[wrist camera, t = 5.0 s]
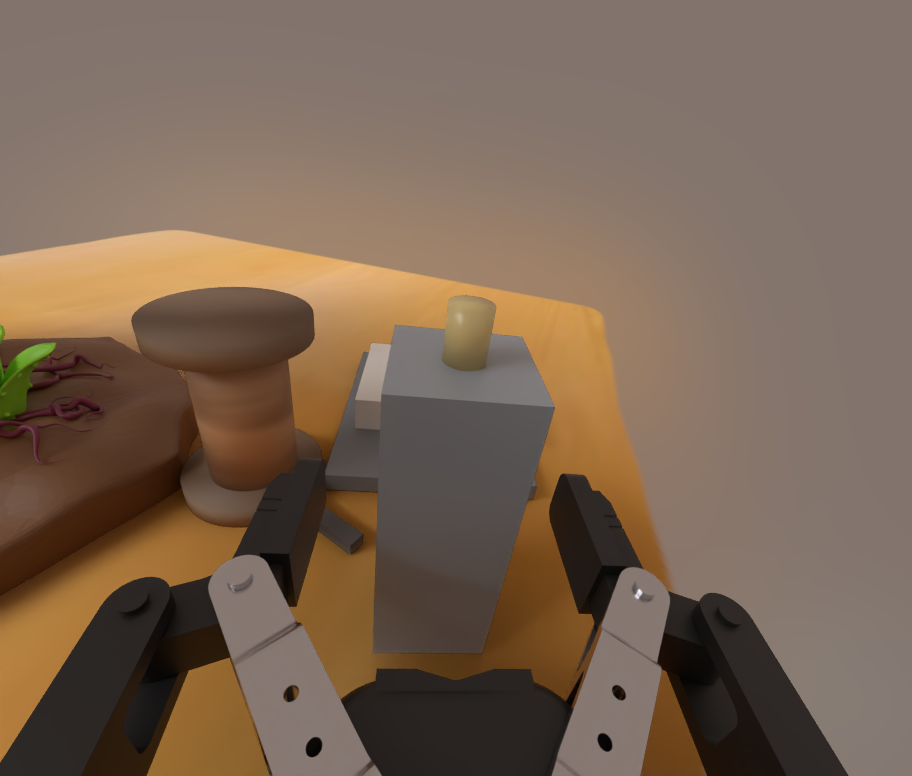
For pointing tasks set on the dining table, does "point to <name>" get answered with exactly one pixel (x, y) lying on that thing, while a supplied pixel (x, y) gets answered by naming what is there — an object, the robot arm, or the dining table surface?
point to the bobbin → (237, 395)
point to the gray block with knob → (452, 477)
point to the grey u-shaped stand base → (363, 429)
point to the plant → (82, 445)
